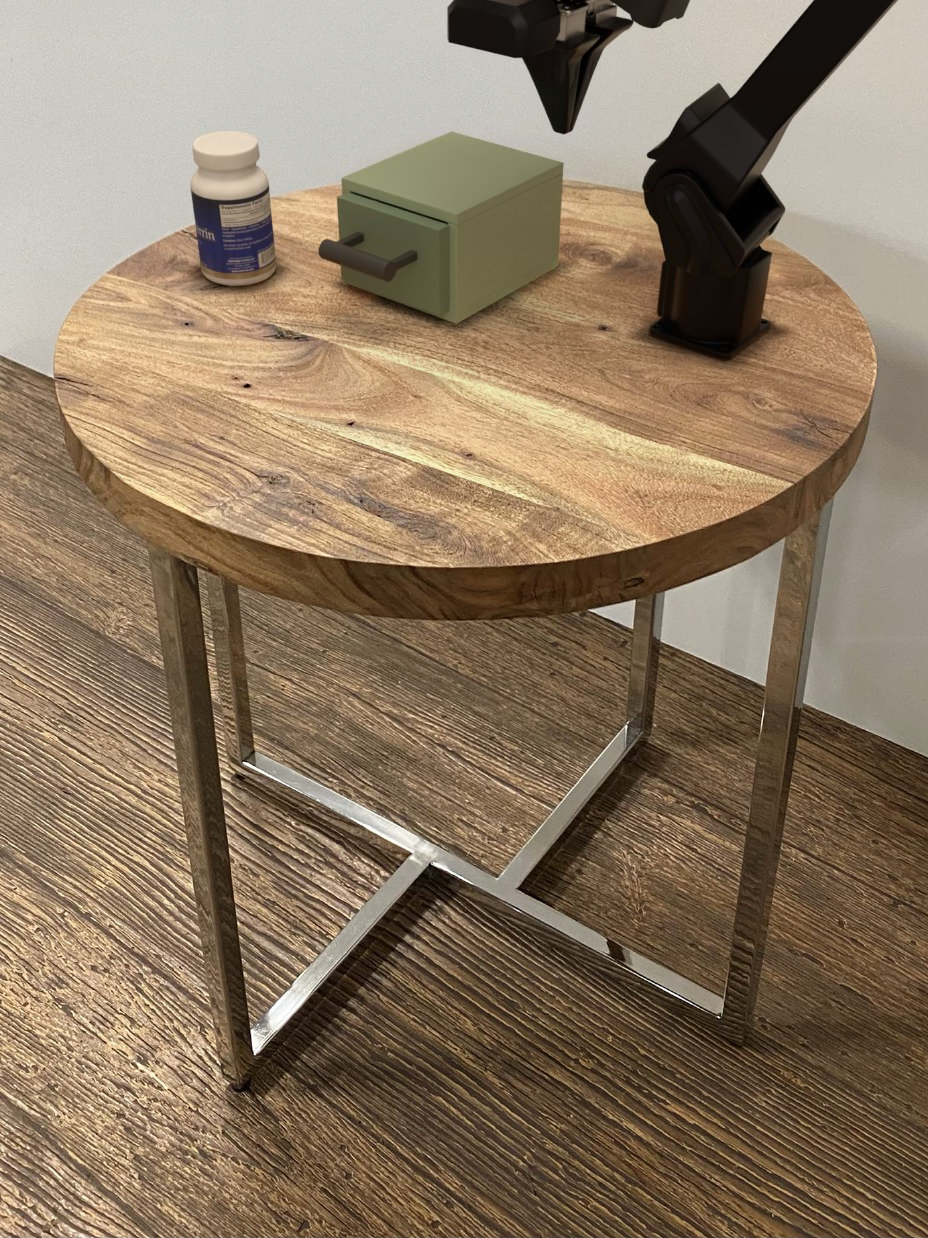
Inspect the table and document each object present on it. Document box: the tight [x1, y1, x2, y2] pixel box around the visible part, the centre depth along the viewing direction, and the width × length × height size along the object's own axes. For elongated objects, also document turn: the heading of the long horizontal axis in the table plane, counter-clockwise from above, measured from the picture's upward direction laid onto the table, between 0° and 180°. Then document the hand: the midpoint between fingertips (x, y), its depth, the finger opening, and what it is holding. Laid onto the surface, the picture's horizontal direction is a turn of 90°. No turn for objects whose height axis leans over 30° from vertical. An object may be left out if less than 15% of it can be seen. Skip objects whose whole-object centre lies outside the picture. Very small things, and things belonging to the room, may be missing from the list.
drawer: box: [318, 192, 450, 316], centre depth 95 cm, size 15×9×6 cm, turn 142°
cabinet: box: [341, 131, 564, 325], centre depth 97 cm, size 13×11×8 cm
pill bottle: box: [190, 130, 277, 287], centre depth 97 cm, size 6×6×10 cm
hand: (562, 132), depth 90 cm, fingers closed
